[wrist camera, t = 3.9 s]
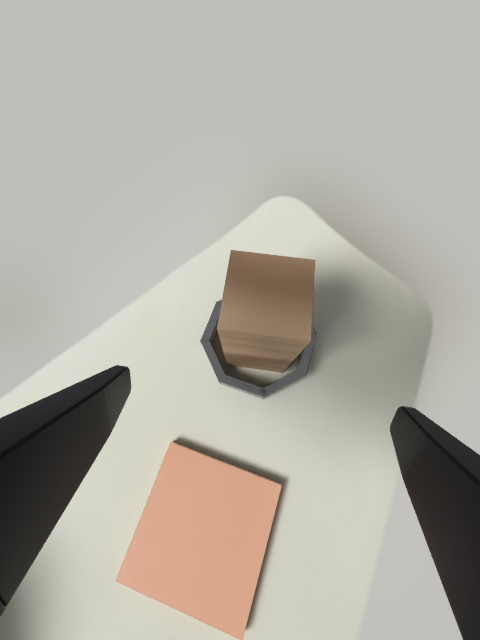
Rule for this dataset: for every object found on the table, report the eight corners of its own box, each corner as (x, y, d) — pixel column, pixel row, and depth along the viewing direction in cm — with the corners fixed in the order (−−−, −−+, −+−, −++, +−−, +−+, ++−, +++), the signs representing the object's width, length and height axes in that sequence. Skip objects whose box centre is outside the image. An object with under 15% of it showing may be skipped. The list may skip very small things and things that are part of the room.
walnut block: (282, 372, 21) (310, 341, 12) (226, 364, 21) (217, 328, 13) (287, 320, 22) (315, 259, 14) (234, 313, 23) (231, 250, 14)
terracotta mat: (242, 632, 16) (242, 640, 15) (119, 575, 17) (115, 581, 16) (280, 483, 18) (281, 485, 18) (172, 441, 19) (170, 442, 19)
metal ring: (294, 410, 20) (297, 409, 19) (190, 373, 21) (187, 371, 20) (319, 312, 23) (323, 306, 21) (227, 283, 24) (226, 276, 22)
